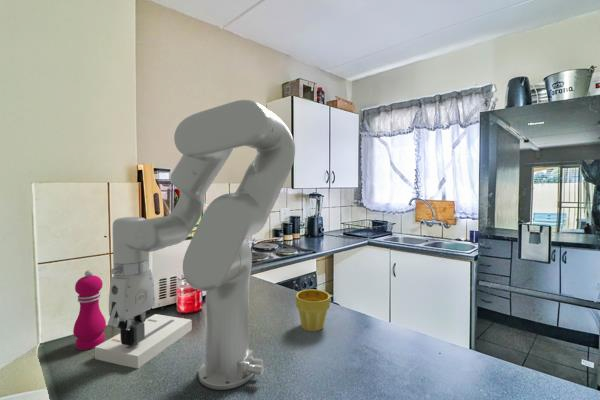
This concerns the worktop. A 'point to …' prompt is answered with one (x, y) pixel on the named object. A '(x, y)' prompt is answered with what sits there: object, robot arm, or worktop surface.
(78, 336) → the pepper mill
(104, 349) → the slotted white slab
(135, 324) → the fader cap
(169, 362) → the worktop surface
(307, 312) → the plant pot
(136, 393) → the worktop surface
